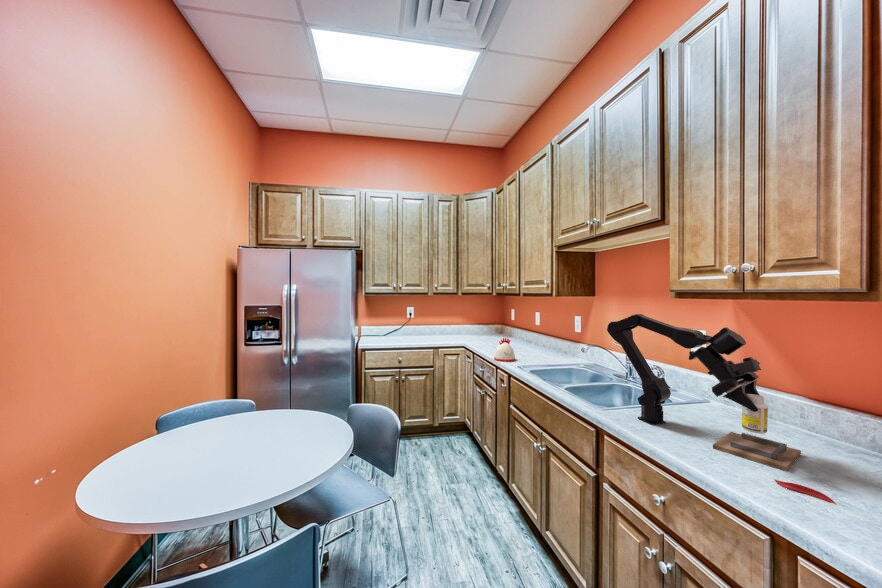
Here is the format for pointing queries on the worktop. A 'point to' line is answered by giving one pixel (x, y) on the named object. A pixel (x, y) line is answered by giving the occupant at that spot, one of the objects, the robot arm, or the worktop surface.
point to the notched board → (758, 450)
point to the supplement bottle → (755, 416)
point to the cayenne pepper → (805, 491)
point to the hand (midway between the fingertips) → (760, 409)
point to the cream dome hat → (504, 352)
